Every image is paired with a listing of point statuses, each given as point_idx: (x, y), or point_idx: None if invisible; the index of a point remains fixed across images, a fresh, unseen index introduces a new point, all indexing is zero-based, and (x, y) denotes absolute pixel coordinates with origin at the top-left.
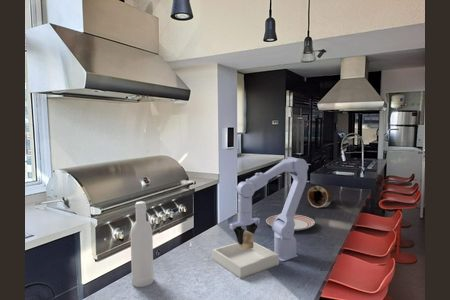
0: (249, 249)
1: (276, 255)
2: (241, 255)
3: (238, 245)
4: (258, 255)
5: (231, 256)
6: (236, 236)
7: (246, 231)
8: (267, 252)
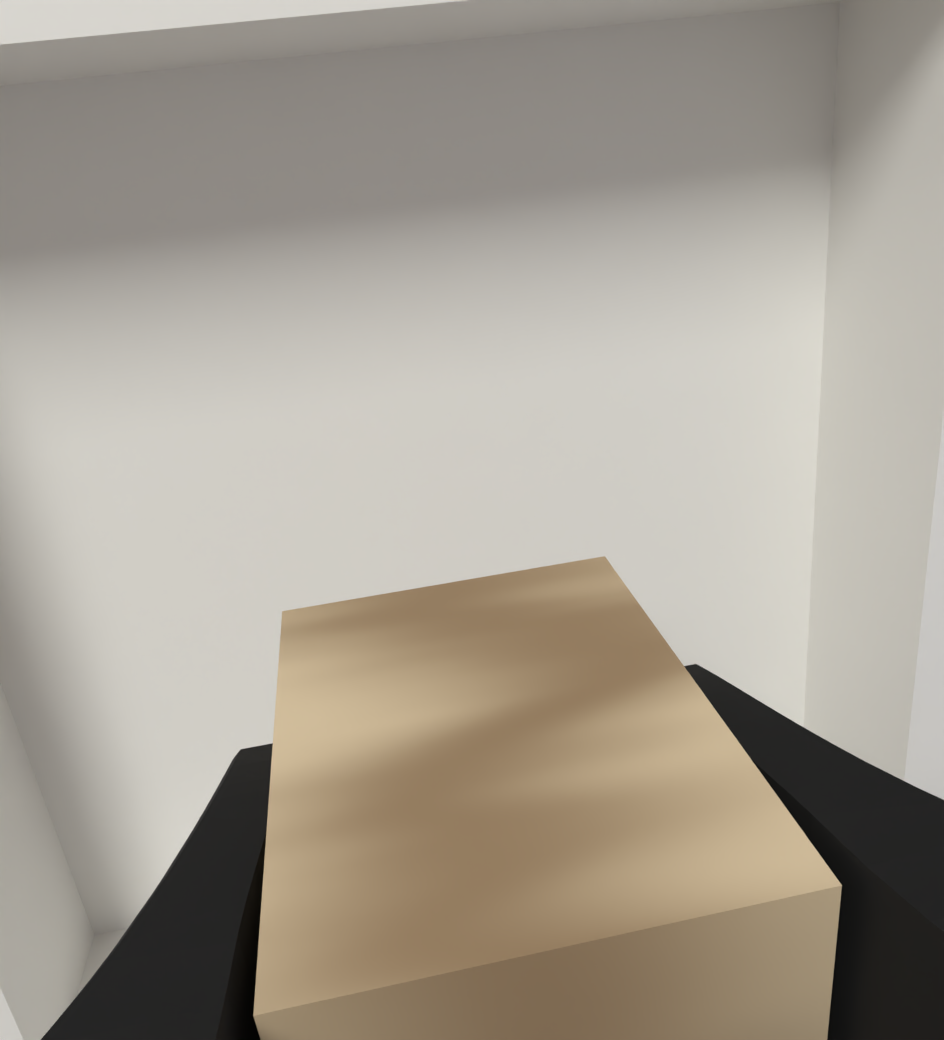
0: (830, 62)
1: None
2: (482, 277)
3: (283, 642)
4: (777, 442)
5: (243, 207)
6: (133, 925)
7: (746, 971)
8: (879, 687)
